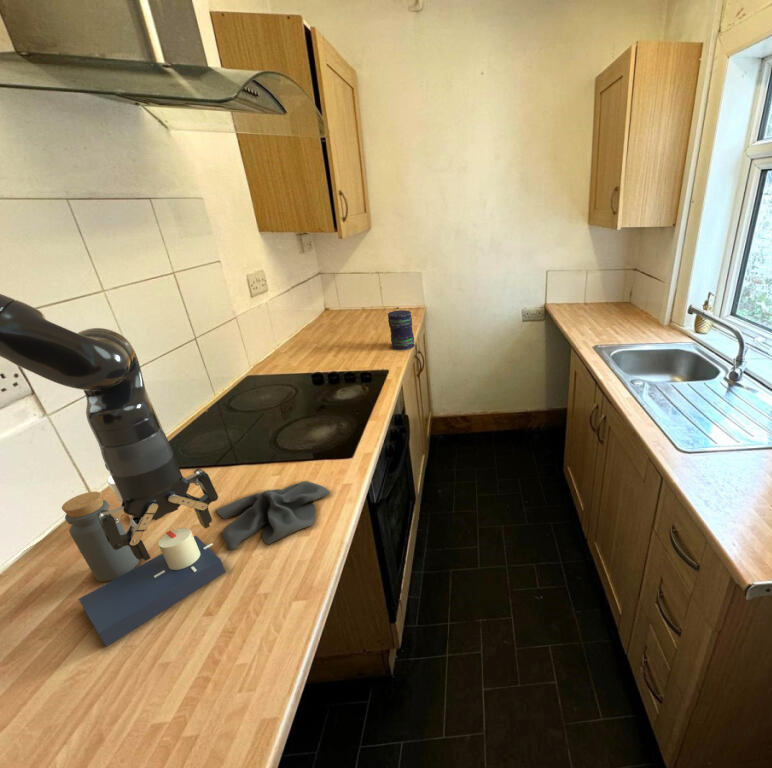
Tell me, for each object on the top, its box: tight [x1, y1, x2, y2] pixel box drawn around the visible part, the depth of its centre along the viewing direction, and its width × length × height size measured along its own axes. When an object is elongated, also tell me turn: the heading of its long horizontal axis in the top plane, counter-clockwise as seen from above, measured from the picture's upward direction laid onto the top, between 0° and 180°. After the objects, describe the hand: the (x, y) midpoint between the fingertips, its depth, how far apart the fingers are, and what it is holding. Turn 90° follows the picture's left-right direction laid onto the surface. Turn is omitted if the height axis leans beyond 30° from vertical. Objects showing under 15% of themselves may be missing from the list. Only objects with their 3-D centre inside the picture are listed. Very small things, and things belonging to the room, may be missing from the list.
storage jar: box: [387, 306, 415, 351], centre depth 179 cm, size 10×10×18 cm
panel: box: [78, 535, 226, 647], centre depth 69 cm, size 17×10×3 cm, turn 145°
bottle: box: [61, 491, 140, 583], centre depth 70 cm, size 6×6×15 cm
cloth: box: [216, 480, 331, 551], centre depth 84 cm, size 22×19×6 cm
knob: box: [157, 527, 200, 570], centre depth 70 cm, size 4×4×5 cm
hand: (177, 540), depth 70 cm, fingers open, 8 cm apart
